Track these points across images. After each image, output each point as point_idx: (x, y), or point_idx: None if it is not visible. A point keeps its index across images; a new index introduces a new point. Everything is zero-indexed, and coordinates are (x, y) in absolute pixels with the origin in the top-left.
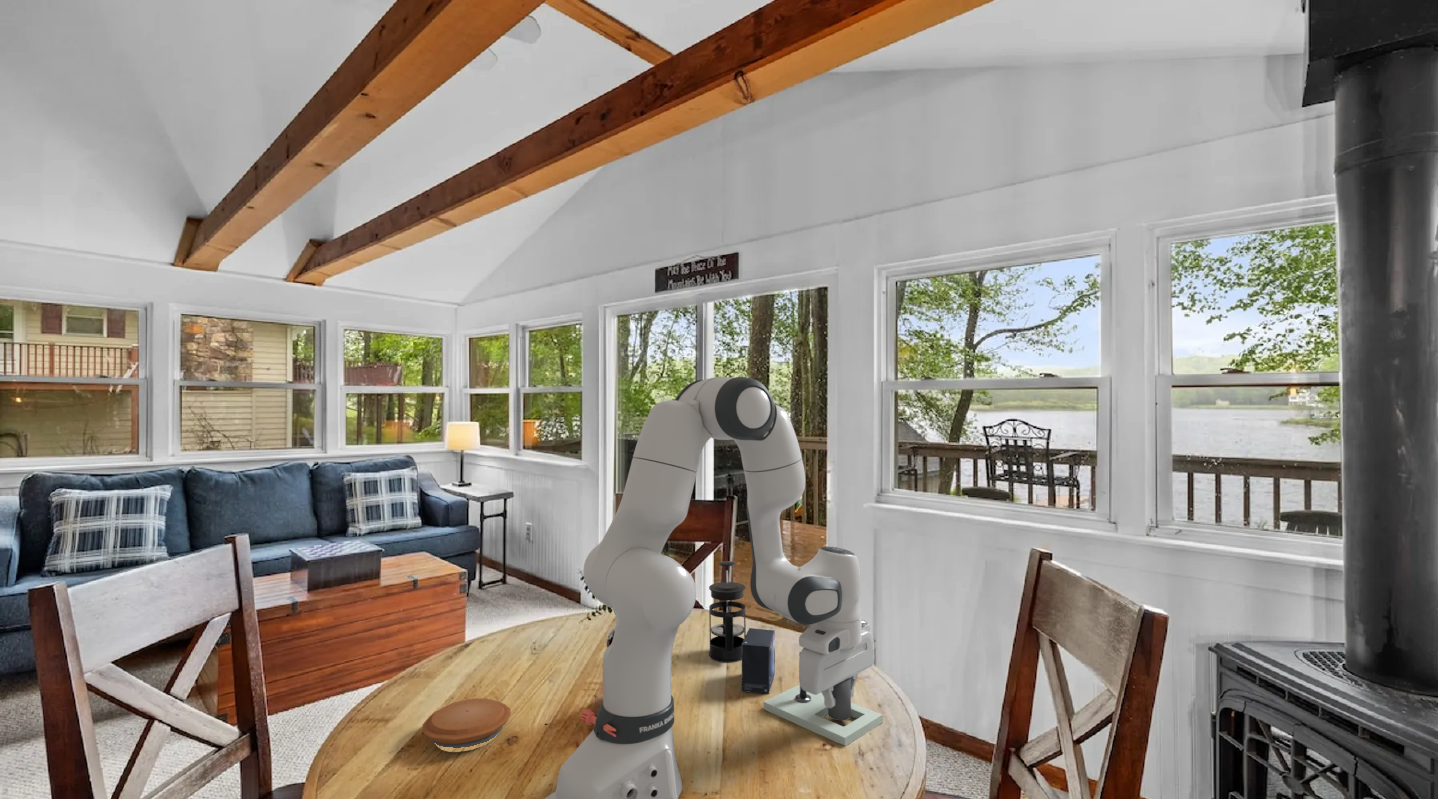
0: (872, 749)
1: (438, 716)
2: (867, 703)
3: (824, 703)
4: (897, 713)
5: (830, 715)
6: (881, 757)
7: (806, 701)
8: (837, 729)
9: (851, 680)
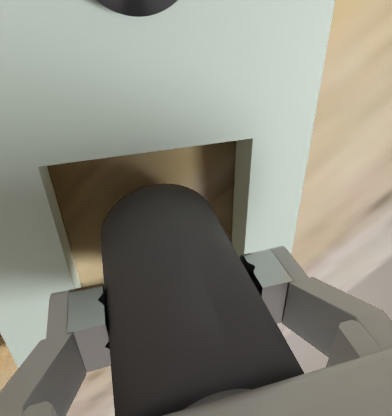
0: (96, 376)
1: None
2: (375, 165)
3: (50, 299)
4: (353, 267)
5: (101, 238)
6: (84, 406)
7: (110, 9)
8: (40, 322)
9: (328, 339)
